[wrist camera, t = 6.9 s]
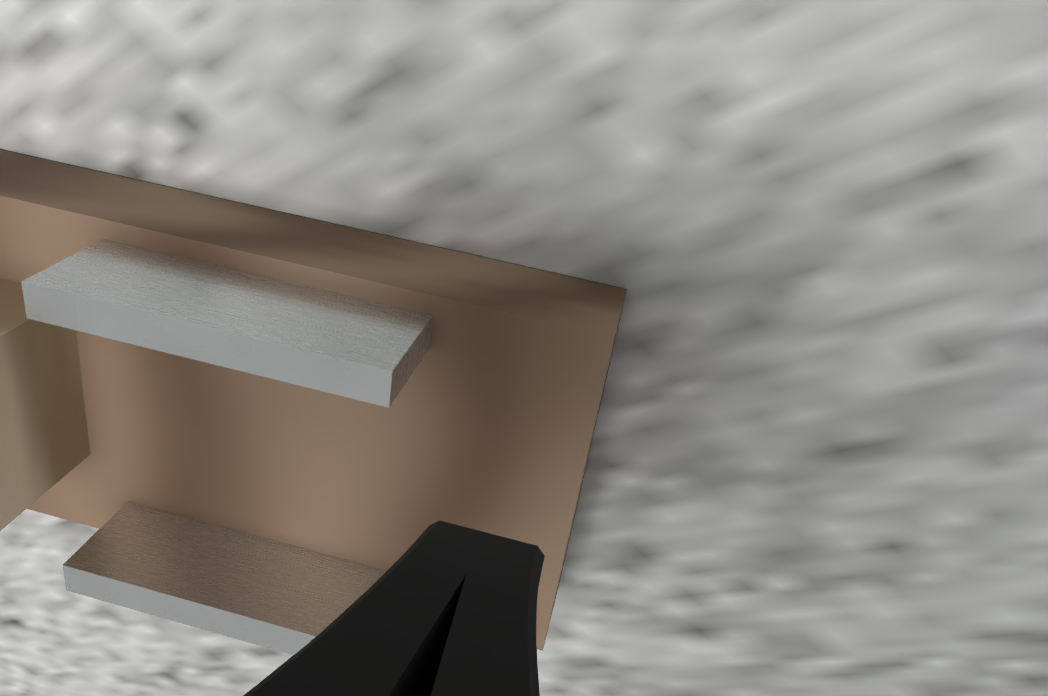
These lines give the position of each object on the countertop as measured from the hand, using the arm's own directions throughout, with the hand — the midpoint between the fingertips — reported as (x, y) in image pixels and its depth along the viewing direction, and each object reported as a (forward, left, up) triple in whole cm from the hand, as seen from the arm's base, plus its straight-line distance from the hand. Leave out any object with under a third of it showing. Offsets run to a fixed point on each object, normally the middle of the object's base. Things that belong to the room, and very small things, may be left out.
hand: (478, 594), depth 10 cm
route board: (+11, +6, -10) cm, 16 cm away
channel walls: (+6, +5, -8) cm, 11 cm away
